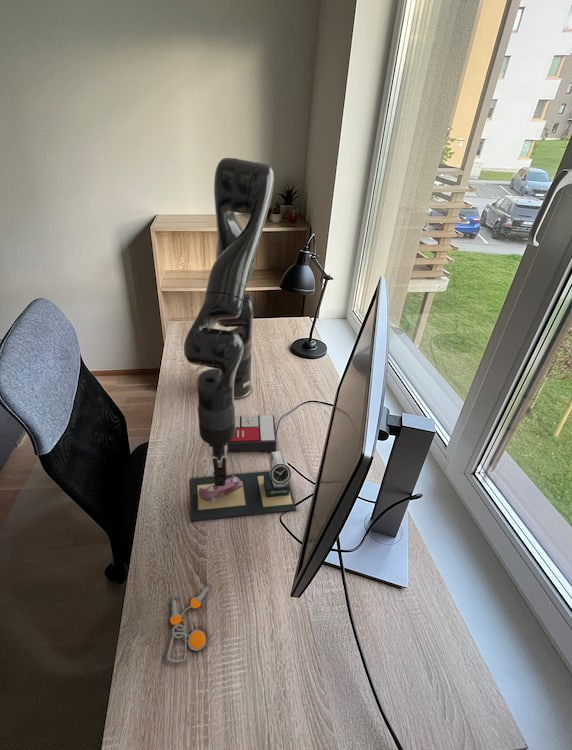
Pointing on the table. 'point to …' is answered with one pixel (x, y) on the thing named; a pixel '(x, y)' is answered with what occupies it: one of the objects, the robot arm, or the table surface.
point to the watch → (277, 476)
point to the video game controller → (220, 489)
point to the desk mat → (238, 499)
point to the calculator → (253, 433)
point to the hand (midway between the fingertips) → (218, 469)
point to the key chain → (196, 637)
